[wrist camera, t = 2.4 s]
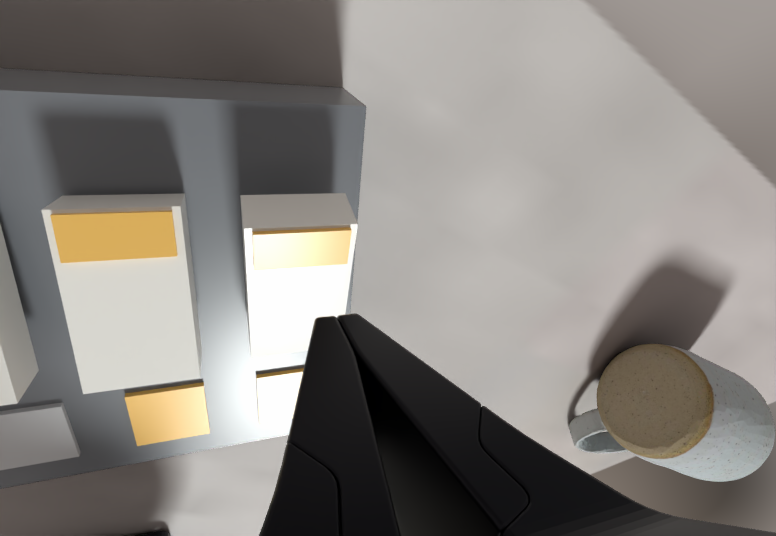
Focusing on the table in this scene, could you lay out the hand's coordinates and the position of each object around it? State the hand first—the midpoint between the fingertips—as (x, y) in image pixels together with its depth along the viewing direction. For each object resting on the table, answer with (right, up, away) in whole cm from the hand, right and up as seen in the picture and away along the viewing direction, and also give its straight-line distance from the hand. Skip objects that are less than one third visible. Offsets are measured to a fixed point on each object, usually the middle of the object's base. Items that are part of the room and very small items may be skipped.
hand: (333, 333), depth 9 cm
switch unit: (-8, +1, +8) cm, 11 cm away
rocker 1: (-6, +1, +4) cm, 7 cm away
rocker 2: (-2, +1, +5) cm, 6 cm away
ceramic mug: (+18, -7, +24) cm, 31 cm away
